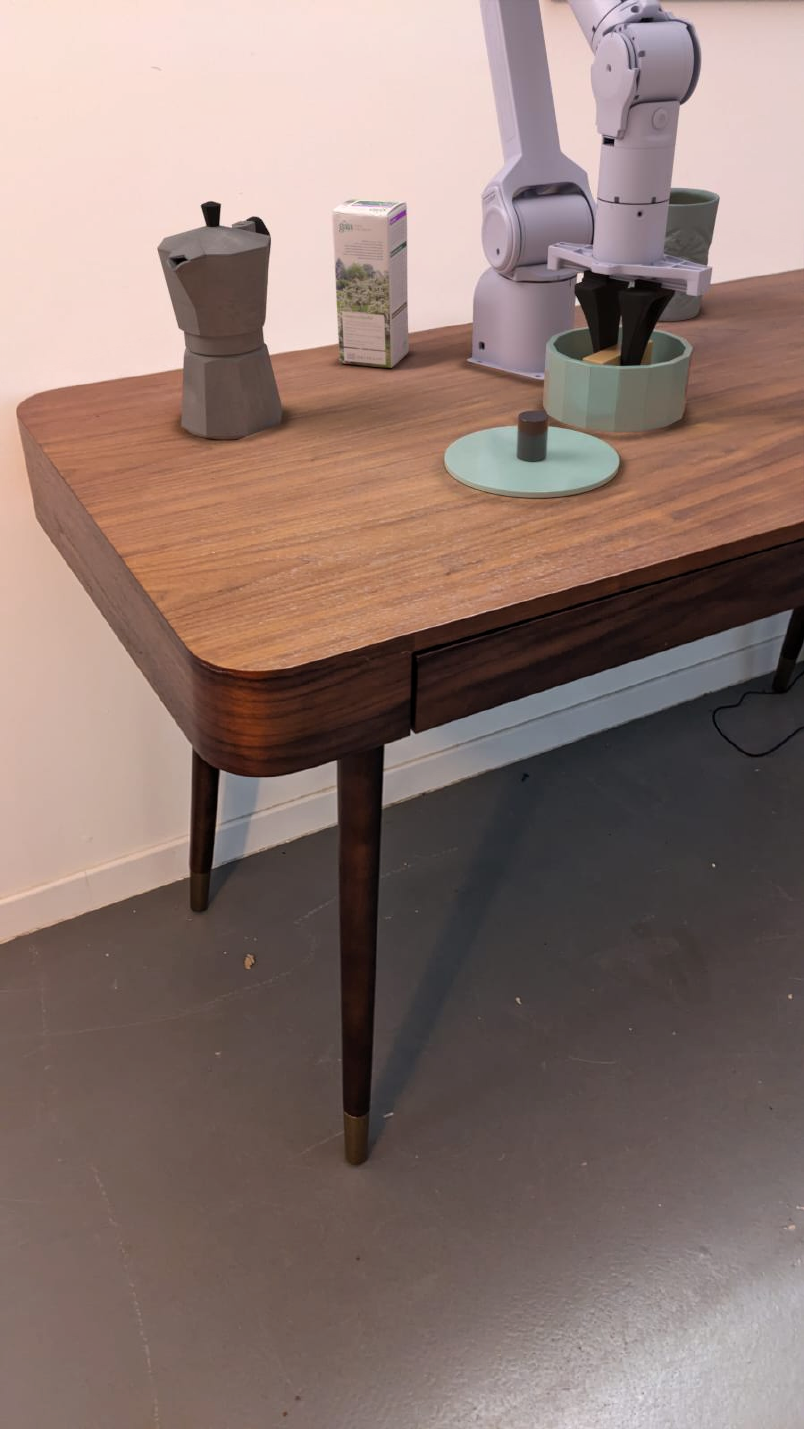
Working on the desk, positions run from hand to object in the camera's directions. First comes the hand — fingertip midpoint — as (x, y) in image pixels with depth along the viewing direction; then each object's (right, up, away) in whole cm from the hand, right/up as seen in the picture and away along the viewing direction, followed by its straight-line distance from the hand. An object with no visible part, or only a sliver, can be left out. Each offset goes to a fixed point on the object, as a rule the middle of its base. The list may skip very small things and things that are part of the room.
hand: (617, 367), depth 97 cm
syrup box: (-21, +6, +16) cm, 27 cm away
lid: (-8, -10, -8) cm, 16 cm away
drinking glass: (+10, +15, +29) cm, 34 cm away
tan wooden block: (0, -1, +1) cm, 1 cm away
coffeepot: (-33, -4, +3) cm, 34 cm away
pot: (0, -3, +2) cm, 4 cm away
